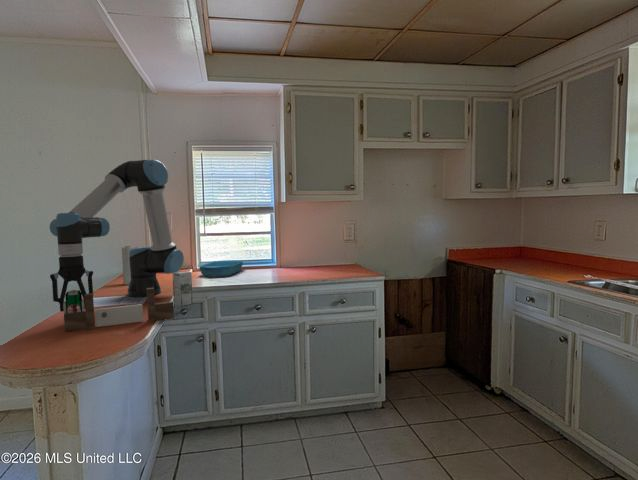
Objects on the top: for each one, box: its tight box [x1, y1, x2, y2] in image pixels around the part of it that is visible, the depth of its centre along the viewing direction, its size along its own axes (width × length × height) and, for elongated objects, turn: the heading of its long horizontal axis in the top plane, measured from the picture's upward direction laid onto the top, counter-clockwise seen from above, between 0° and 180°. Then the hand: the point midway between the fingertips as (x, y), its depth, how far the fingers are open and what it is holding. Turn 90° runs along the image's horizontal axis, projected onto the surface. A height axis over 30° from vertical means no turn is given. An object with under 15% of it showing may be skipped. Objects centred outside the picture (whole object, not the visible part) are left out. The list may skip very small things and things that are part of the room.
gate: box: [95, 303, 144, 328], centre depth 144 cm, size 15×3×6 cm, turn 116°
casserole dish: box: [198, 259, 244, 278], centre depth 260 cm, size 37×22×7 cm, turn 174°
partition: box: [63, 288, 175, 333], centre depth 145 cm, size 3×35×12 cm, turn 116°
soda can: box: [65, 289, 83, 313], centre depth 147 cm, size 5×5×12 cm
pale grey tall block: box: [121, 245, 138, 286], centre depth 227 cm, size 7×6×21 cm
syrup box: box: [172, 270, 193, 308], centre depth 173 cm, size 6×6×14 cm
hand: (75, 318), depth 147 cm, fingers closed on soda can, 5 cm apart
